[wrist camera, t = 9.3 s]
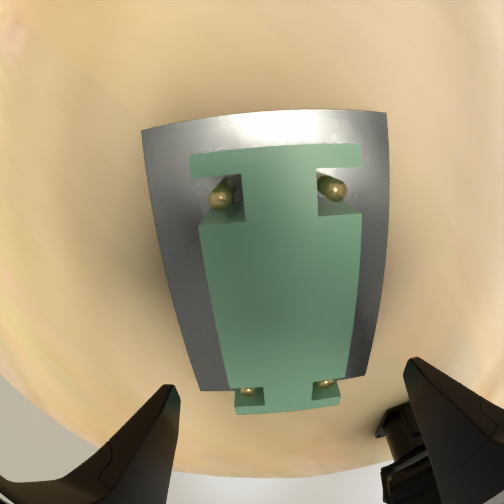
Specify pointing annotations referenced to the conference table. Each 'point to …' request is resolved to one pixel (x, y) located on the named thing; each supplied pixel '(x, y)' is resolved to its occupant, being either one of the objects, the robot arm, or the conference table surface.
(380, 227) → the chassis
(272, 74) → the conference table surface
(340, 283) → the green notched block
